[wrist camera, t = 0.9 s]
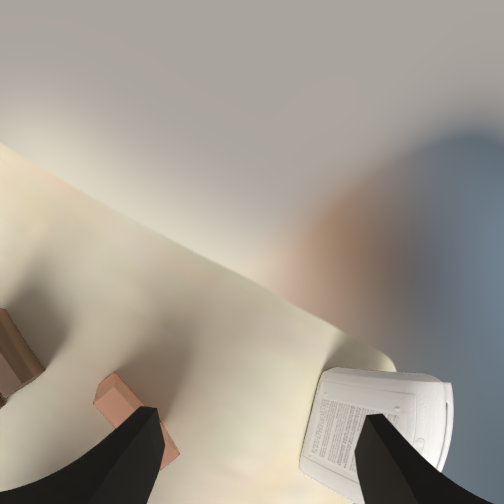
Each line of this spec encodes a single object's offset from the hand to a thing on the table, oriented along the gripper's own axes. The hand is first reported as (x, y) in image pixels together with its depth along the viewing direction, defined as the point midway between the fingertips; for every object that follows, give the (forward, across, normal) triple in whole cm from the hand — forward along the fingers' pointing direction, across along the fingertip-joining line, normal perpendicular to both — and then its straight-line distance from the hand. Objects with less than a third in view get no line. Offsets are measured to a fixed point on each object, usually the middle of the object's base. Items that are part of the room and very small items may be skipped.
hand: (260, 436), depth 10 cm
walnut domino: (+6, +16, +2) cm, 18 cm away
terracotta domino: (+7, +9, +6) cm, 13 cm away
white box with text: (+12, -5, +12) cm, 18 cm away
